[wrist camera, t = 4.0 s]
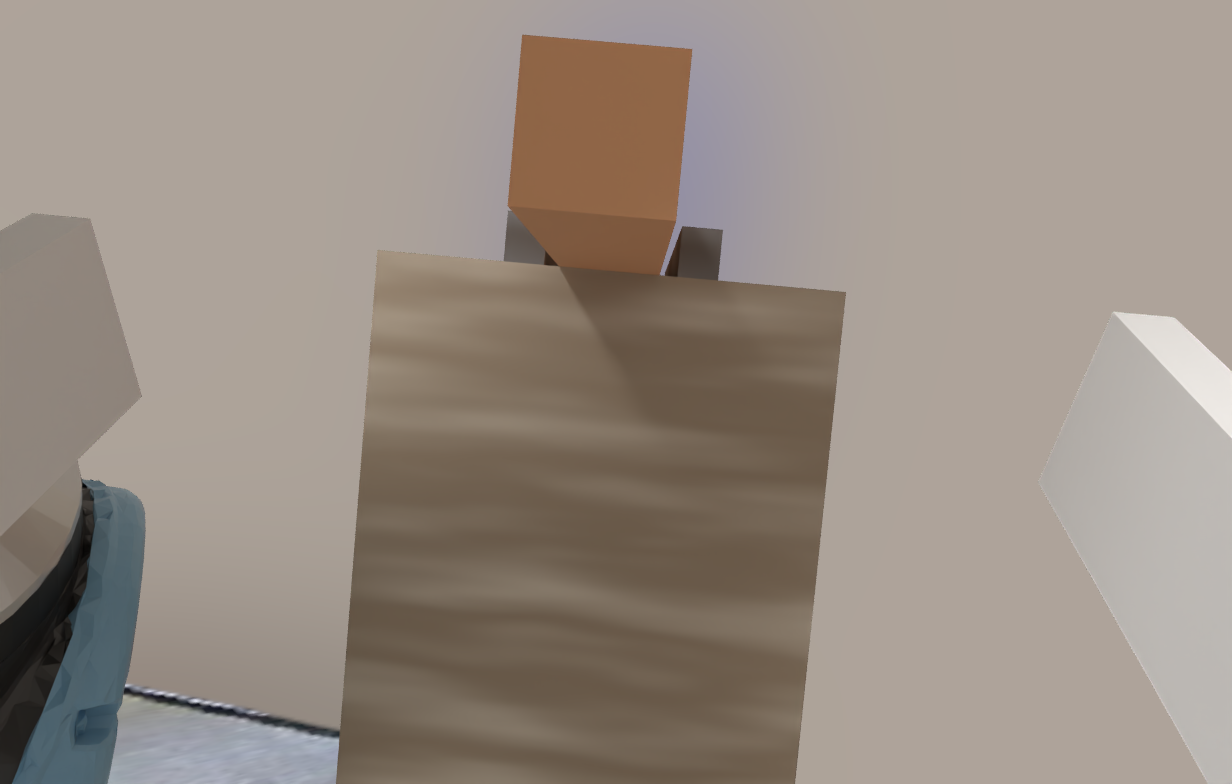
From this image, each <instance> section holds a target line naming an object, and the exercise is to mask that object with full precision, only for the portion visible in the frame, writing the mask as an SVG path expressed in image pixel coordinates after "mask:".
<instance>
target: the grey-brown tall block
mask: <svg viewBox="0 0 1232 784" xmlns="http://www.w3.org/2000/svg"><path fill="white" fill-rule="evenodd" d="M722 233H723V230H718V229H707V228H695V227H684V226H683V227H682V229H681V231H680V234H679V237H678V240H677V242H676V245H675V248H674V250H673V253H672V256H671V259H670V261H669V264H668V267H667V269H666V272H665V276H661V275H650V274H639V273H628V272H616V271H605V270H594V269H583V268H572V267H561V266H558V265H557V263H556V262H555V261H554V260H553V259H552V257H551V256H550V255H549V254H548V253H547V252H546V250H545V249H544V248H543V247H542V246H541V245H540V243H539V242H538V241H537V240H536V239H535V238H534V236H533V235H532V234H531V233H530V232H529V230H528V229H527V228H526V227H525V226H524V225H523V223H522V222H521V221H520V220H519V219H518V218H517V216H516V215H515V214H514V213H513V212H512V211H508V218H507V230H506V241H505V254H504V261H494V260H483V259H472V258H460V257H450V256H438V255H428V254H416V253H405V252H394V251H383V250H378V252H377V265H376V278H375V290H374V304H373V317H372V330H371V342H370V355H369V368H368V381H367V393H366V406H365V419H364V433H363V445H362V457H361V470H360V471H361V472H360V483H359V497H358V509H357V522H356V534H355V535H356V536H355V548H354V561H353V573H352V586H351V598H350V611H349V624H348V637H347V649H346V650H347V651H346V663H345V675H344V688H343V701H342V714H341V726H340V739H339V752H338V765H337V778H336V784H795V778H796V768H797V758H798V748H799V738H800V729H801V720H802V710H803V700H804V691H805V681H806V672H807V662H808V652H809V643H810V632H811V622H812V613H813V604H814V595H815V585H816V576H817V565H818V556H819V547H820V546H819V545H820V537H821V527H822V517H823V508H824V498H825V488H826V479H827V470H828V460H829V450H830V441H831V431H832V422H833V412H834V402H835V393H836V383H837V373H838V363H839V354H840V345H841V335H842V325H843V314H844V306H845V296H846V292H839V291H827V290H816V289H806V288H794V287H783V286H772V285H761V284H750V283H739V282H727V281H718V274H719V264H720V253H721V243H722Z"/></svg>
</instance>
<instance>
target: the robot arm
mask: <svg viewBox="0 0 1232 784" xmlns="http://www.w3.org/2000/svg"><path fill="white" fill-rule="evenodd" d="M141 397H142V395H141V392H140V388H139V385H138V382H137V378H136V375H135V372H134V368H133V364H132V361H131V358H130V354H129V351H128V347H127V344H126V340H125V337H124V334H123V330H122V327H121V323H120V320H119V316H118V313H117V310H116V306H115V303H114V299H113V296H112V293H111V289H110V286H109V282H108V279H107V275H106V272H105V268H104V265H103V261H102V258H101V255H100V251H99V248H98V244H97V241H96V237H95V234H94V230H93V227H92V224H91V221H90V219H87V218H77V217H66V216H54V215H44V214H33V213H32V214H30V215H28V216H27V217H25V218H23V219H21V220H19V221H17V222H16V223H14V224H12V225H10V226H8V227H6V228H5V229H3V230H1V231H0V784H107V783H108V779H109V774H110V770H111V764H112V759H113V754H114V748H115V743H116V736H117V726H118V719H117V714H116V713H117V712H118V710H119V708H120V706H121V704H122V699H123V692H124V687H125V683H126V680H127V676H128V672H129V667H130V661H131V655H132V649H133V642H134V635H135V628H136V621H137V614H138V606H139V598H140V589H141V581H142V571H143V561H144V547H145V511H144V507H143V504H142V502H141V501H140V499H138V497H137V496H135V495H134V494H133V493H132V492H130V491H128V490H126V489H122V488H116V487H109V486H106V485H105V484H103V483H102V482H100V481H93V480H83V479H81V474H80V470H79V465H78V461H77V460H78V459H79V458H80V457H81V456H82V455H83V454H84V453H85V452H86V451H87V450H88V449H89V448H90V447H91V446H92V445H93V444H94V443H95V442H96V441H97V440H98V439H99V438H100V437H101V436H102V435H103V434H104V433H105V432H106V431H107V430H108V429H109V428H110V427H111V426H112V425H113V424H114V423H115V422H116V421H117V420H118V419H119V418H120V417H121V416H122V415H123V414H124V413H125V412H126V411H127V410H128V409H129V408H130V407H131V406H132V405H133V404H134V403H135V402H136V401H138V399H139V398H141ZM1038 483H1039V485H1040V487H1041V489H1042V490H1043V492H1044V494H1045V496H1046V498H1047V499H1048V501H1049V503H1050V504H1051V506H1052V508H1053V510H1054V511H1055V514H1056V515H1057V517H1058V519H1059V520H1060V522H1061V524H1062V526H1063V528H1064V529H1065V531H1066V533H1067V535H1068V536H1069V538H1070V540H1071V542H1072V544H1073V545H1074V547H1075V549H1076V551H1077V552H1078V554H1079V556H1080V558H1081V560H1082V561H1083V563H1084V565H1085V567H1086V569H1087V570H1088V572H1089V574H1090V576H1091V577H1092V579H1093V581H1094V583H1095V585H1096V586H1097V588H1098V590H1099V592H1100V593H1101V595H1102V597H1103V599H1104V600H1105V602H1106V604H1107V606H1108V608H1109V609H1110V611H1111V613H1112V615H1113V616H1114V618H1115V620H1116V622H1117V624H1118V625H1119V627H1120V629H1121V630H1122V632H1123V634H1124V636H1125V638H1126V640H1127V641H1128V643H1129V645H1130V647H1131V648H1132V650H1133V652H1134V654H1135V656H1136V657H1137V659H1138V661H1139V663H1140V664H1141V666H1142V668H1143V670H1144V671H1145V673H1146V675H1147V677H1148V679H1149V680H1150V682H1151V684H1152V686H1153V687H1154V689H1155V691H1156V693H1157V694H1158V696H1159V698H1160V700H1161V702H1162V703H1163V705H1164V707H1165V709H1166V710H1167V712H1168V714H1169V716H1170V717H1171V719H1172V721H1173V723H1174V725H1175V726H1176V728H1177V730H1178V732H1179V733H1180V735H1181V737H1182V739H1183V741H1184V742H1185V744H1186V746H1187V748H1188V749H1189V751H1190V753H1191V755H1192V756H1193V758H1194V760H1195V762H1196V764H1197V765H1198V767H1199V769H1200V771H1201V773H1202V774H1203V776H1204V778H1205V780H1206V781H1207V783H1208V784H1232V371H1231V370H1230V369H1228V368H1227V367H1226V366H1225V365H1224V364H1223V363H1222V362H1221V361H1220V360H1219V359H1218V358H1217V357H1216V356H1215V355H1214V354H1213V353H1211V352H1210V351H1209V350H1208V349H1207V348H1206V347H1205V346H1204V345H1203V344H1202V343H1201V342H1200V341H1199V340H1198V339H1197V338H1196V337H1194V336H1193V335H1192V334H1191V333H1190V332H1189V331H1188V330H1187V329H1186V328H1185V327H1184V326H1183V325H1182V324H1181V323H1180V322H1179V321H1177V320H1176V319H1175V318H1174V317H1164V316H1153V315H1142V314H1131V313H1120V312H1112V315H1111V317H1110V319H1109V321H1108V324H1107V326H1106V329H1105V331H1104V333H1103V335H1102V337H1101V340H1100V342H1099V344H1098V347H1097V349H1096V351H1095V353H1094V356H1093V358H1092V360H1091V362H1090V365H1089V367H1088V369H1087V372H1086V374H1085V376H1084V378H1083V381H1082V383H1081V385H1080V387H1079V390H1078V392H1077V394H1076V397H1075V399H1074V401H1073V403H1072V406H1071V408H1070V410H1069V412H1068V415H1067V417H1066V419H1065V422H1064V424H1063V426H1062V429H1061V431H1060V433H1059V435H1058V438H1057V440H1056V442H1055V445H1054V447H1053V449H1052V451H1051V453H1050V456H1049V458H1048V460H1047V463H1046V465H1045V467H1044V469H1043V472H1042V474H1041V476H1040V479H1039V481H1038Z"/></svg>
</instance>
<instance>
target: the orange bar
mask: <svg viewBox="0 0 1232 784" xmlns="http://www.w3.org/2000/svg"><path fill="white" fill-rule="evenodd" d="M691 57H692V49H684V48H672V47H661V46H649V45H636V44H625V43H614V42H602V41H590V40H578V39H566V38H554V37H543V36H530V35H522V44H521V57H520V68H519V79H518V91H517V103H516V104H517V105H516V115H515V127H514V138H513V151H512V162H511V174H510V185H509V198H508V207H509V208H510V209H511V210H512V212H513V213H514V214H515V215H516V216H517V218H518V219H519V220H520V221H521V222H522V223H523V225H524V226H525V227H526V228H527V229H528V230H529V232H530V233H531V234H532V235H533V236H534V238H535V239H536V240H537V241H538V242H539V243H540V245H541V246H542V247H543V248H544V249H545V250H546V252H547V253H548V254H549V255H550V256H551V257H552V259H553V260H554V261H555V262H556V263H557V265H558V266H561V267H572V268H583V269H594V270H605V271H616V272H628V273H639V274H650V275H660V272H661V268H662V265H663V262H664V259H665V255H666V252H667V249H668V245H669V242H670V239H671V236H672V232H673V229H674V226H675V223H676V216H677V206H678V195H679V184H680V174H681V163H682V152H683V142H684V131H685V121H686V110H687V99H688V88H689V78H690V68H691Z"/></svg>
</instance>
